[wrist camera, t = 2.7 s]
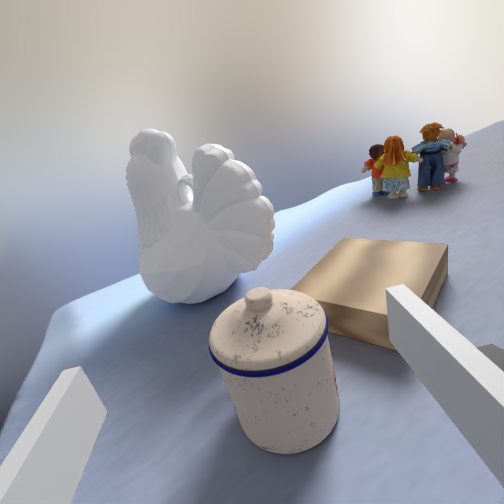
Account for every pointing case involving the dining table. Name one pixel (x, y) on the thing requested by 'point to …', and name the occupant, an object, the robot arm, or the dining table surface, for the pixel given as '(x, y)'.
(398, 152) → the doll family
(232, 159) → the decorative rooster
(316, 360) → the teacup with lid
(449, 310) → the dining table surface
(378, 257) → the oak slab
